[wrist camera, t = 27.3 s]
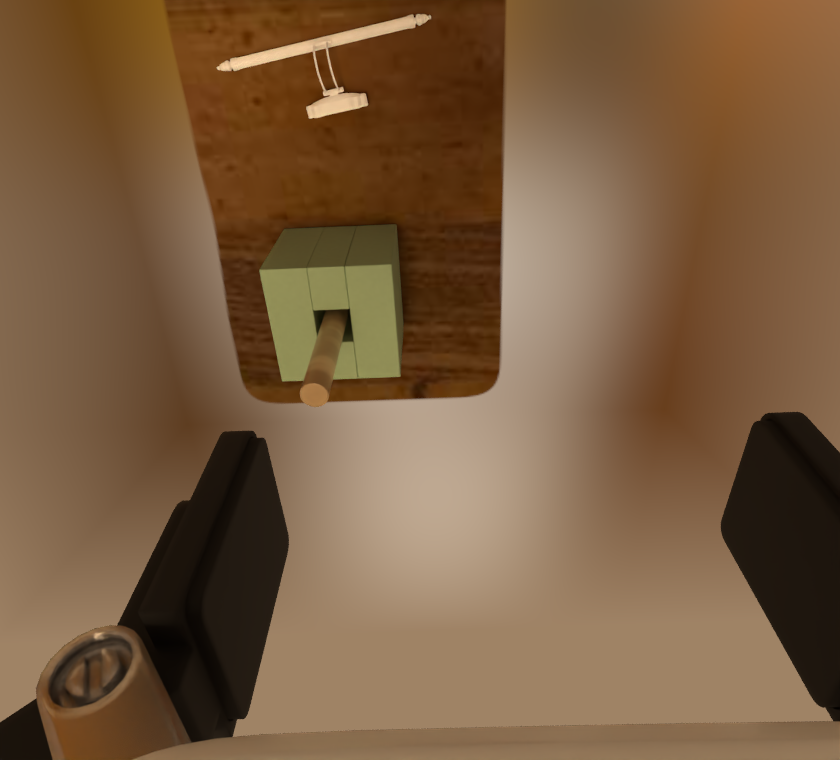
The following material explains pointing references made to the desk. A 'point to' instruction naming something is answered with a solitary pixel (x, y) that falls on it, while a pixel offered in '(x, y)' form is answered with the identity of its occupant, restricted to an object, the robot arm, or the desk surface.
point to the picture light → (335, 100)
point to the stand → (336, 298)
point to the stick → (324, 358)
